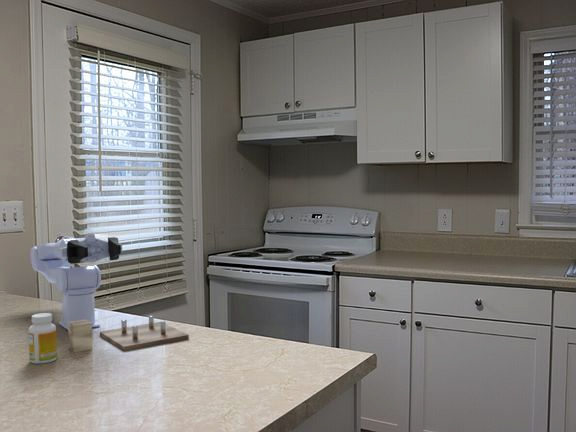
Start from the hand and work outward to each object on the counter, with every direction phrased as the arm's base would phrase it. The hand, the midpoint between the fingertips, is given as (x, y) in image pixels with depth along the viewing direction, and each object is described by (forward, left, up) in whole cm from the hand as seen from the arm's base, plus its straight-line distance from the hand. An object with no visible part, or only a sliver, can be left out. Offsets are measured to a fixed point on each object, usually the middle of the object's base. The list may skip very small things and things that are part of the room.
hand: (103, 250), depth 135 cm
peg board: (+1, +9, -22) cm, 24 cm away
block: (+1, -6, -22) cm, 23 cm away
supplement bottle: (+5, -15, -22) cm, 27 cm away
